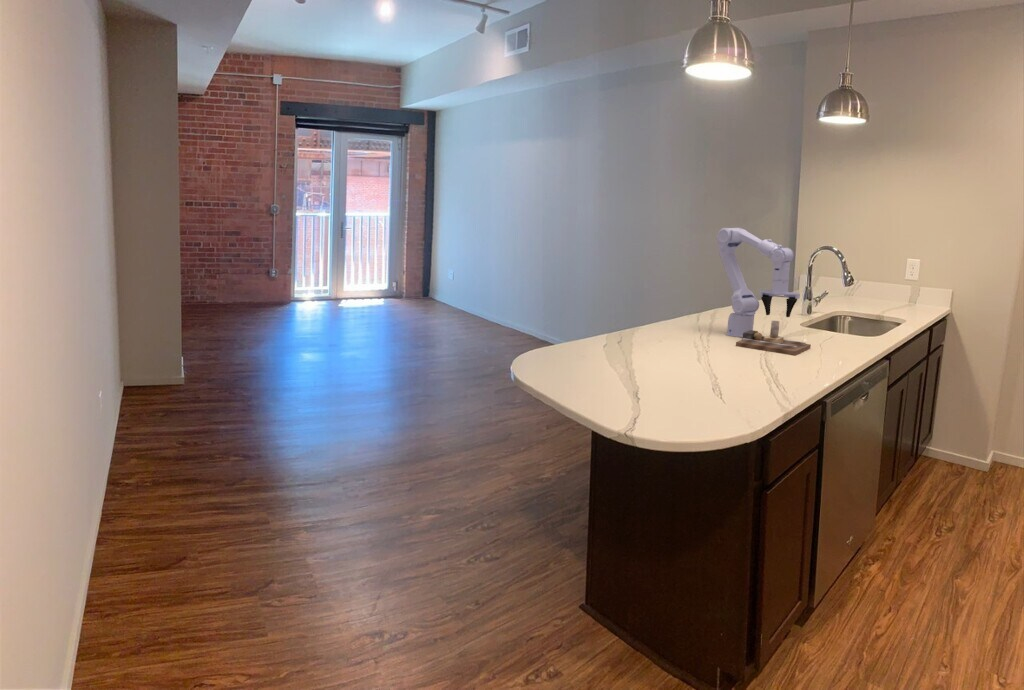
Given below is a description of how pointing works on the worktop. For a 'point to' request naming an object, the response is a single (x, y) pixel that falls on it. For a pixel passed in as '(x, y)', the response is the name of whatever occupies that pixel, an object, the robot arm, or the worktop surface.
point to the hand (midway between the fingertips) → (777, 315)
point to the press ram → (774, 334)
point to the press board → (771, 344)
